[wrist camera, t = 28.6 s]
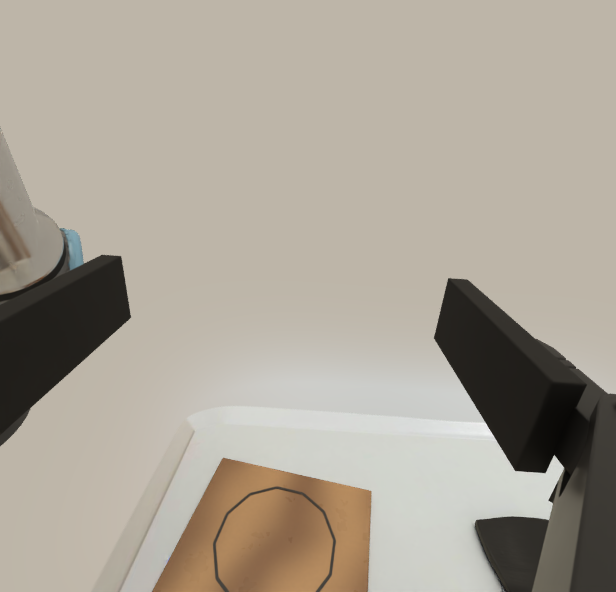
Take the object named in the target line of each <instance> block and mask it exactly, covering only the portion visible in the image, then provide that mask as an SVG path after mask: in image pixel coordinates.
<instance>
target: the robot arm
mask: <svg viewBox="0 0 616 592" xmlns="http://www.w3.org/2000/svg"><path fill="white" fill-rule="evenodd" d="M130 318H131V315H130V309H129V302H128V296H127V290H126V284H125V277H124V271H123V265H122V259H121V256H109V255H101V256H99V257H97V258H95V259H93V260H91V261H89V262H87V263H85V264H84V262H83V255H82V247H81V241H80V237H79V235H78V233H77V232H75V231H74V230H66V229H64V228H59V227H58V226H57V224H56V223H55V222H54V221H53V219H51V218H50V217H49V216H48V215H46V214H45V213H43V212H42V211H40V210H38V209H36V208H34V207H33V206H32V204H31V201H30V199H29V196H28V194H27V191H26V189H25V187H24V184H23V182H22V179H21V177H20V174H19V172H18V170H17V167H16V165H15V162H14V160H13V158H12V155H11V152H10V150H9V148H8V145H7V143H6V140H5V138H4V135H3V133H2V130H1V128H0V435H1V434H2V433H3V432H4V431H5V430H6V429H7V428H9V427H10V426H11V425H12V424H13V423H14V422H15V421H16V420H17V419H19V418H20V417H21V416H22V415H23V414H24V413H25V412H26V411H27V410H29V409H30V408H31V407H32V406H33V405H34V404H35V403H36V402H37V401H39V400H40V399H41V398H42V397H43V396H44V395H45V394H46V393H48V392H49V391H50V390H51V389H52V388H53V387H54V386H55V385H56V384H58V383H59V382H60V381H61V380H62V379H63V378H64V377H65V376H66V375H68V374H69V373H70V372H71V371H72V370H73V369H74V368H75V367H76V366H77V365H79V364H80V363H81V362H82V361H83V360H84V359H85V358H87V357H88V356H89V355H90V354H91V353H92V352H93V351H94V350H95V349H96V348H98V347H99V346H100V345H101V344H102V343H103V342H104V341H105V340H106V339H108V338H109V337H110V336H111V335H112V334H113V333H114V332H115V331H117V330H118V329H119V328H120V327H121V326H122V325H123V324H124V323H126V321H128V320H129V319H130ZM434 339H435V341H436V342H437V344H438V345H439V347H440V349H441V350H442V352H443V354H444V355H445V357H446V358H447V360H448V362H449V363H450V365H451V367H452V368H453V370H454V372H455V373H456V375H457V377H458V378H459V379H460V381H461V383H462V385H463V386H464V388H465V390H466V391H467V393H468V395H469V396H470V398H471V399H472V401H473V402H474V404H475V406H476V408H477V409H478V411H479V412H480V414H481V416H482V417H483V419H484V421H485V422H486V424H487V426H488V427H489V429H490V430H491V432H492V434H493V435H494V437H495V439H496V440H497V442H498V444H499V445H500V447H501V448H502V450H503V452H504V453H505V455H506V457H507V458H508V460H509V461H510V463H511V465H512V466H513V468H514V470H515V471H523V472H538V473H546V471H547V469H548V467H549V464H550V462H551V460H552V458H553V456H554V455H555V456H556V458H557V459H558V460H559V461H560V463H561V464H562V465H563V467H564V470H563V472H562V474H561V476H560V478H559V480H558V482H557V484H556V486H555V488H554V490H553V492H552V494H551V496H550V498H549V500H548V501H550V502H552V503H553V506H552V511H551V515H550V519H549V523H548V527H547V531H546V535H545V540H544V544H543V548H542V552H541V556H540V560H539V565H538V569H537V573H536V577H535V581H534V585H533V589H532V592H616V394H607V393H606V392H605V391H604V390H603V389H602V388H600V387H599V386H598V385H597V384H596V383H594V382H593V381H592V380H591V379H590V378H588V377H587V376H586V375H585V374H584V373H583V372H581V371H580V370H579V369H576V367H575V366H574V365H573V364H572V363H571V362H569V361H568V360H566V358H565V357H564V356H562V355H561V354H560V353H559V352H558V351H556V350H555V349H554V348H552V347H551V346H549V345H547V344H545V343H543V342H541V341H539V340H538V339H535V338H533V337H532V336H531V335H530V334H529V333H528V332H527V331H525V330H524V329H523V328H522V327H521V326H520V325H519V324H518V323H516V322H515V321H514V320H513V319H512V318H511V317H509V316H508V315H507V314H506V313H505V312H504V311H503V310H502V309H500V308H499V307H498V306H497V305H496V304H495V303H493V302H492V301H491V300H490V299H489V298H488V297H487V296H485V295H484V294H483V293H482V292H481V291H480V290H479V289H478V288H476V287H475V286H474V285H473V284H472V283H471V282H470V281H468V280H464V279H451V278H449V279H448V282H447V286H446V290H445V294H444V298H443V303H442V307H441V311H440V315H439V319H438V324H437V328H436V333H435V336H434Z"/></svg>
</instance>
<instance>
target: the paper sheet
mask: <svg viewBox="0 0 616 592" xmlns="http://www.w3.org/2000/svg"><path fill="white" fill-rule="evenodd" d="M370 512H371V491H369V490H364V489H360V488H355V487H351V486H346V485H342V484H337V483H333V482H328V481H324V480H320V479H315V478H311V477H306V476H302V475H297V474H293V473H288V472H284V471H280V470H275V469H271V468H266V467H262V466H257V465H253V464H248V463H244V462H240V461H235V460H231V459H226V458H223V459H222V461H221V463H220V464H219V466H218V468H217V470H216V472H215V474H214V476H213V478H212V480H211V481H210V483H209V485H208V487H207V489H206V491H205V493H204V495H203V497H202V498H201V500H200V502H199V504H198V506H197V508H196V510H195V512H194V514H193V515H192V517H191V519H190V521H189V523H188V525H187V527H186V529H185V531H184V532H183V534H182V536H181V538H180V540H179V542H178V544H177V546H176V548H175V549H174V551H173V553H172V555H171V557H170V559H169V561H168V563H167V565H166V566H165V568H164V570H163V572H162V574H161V576H160V578H159V580H158V582H157V583H156V585H155V587H154V589H153V591H152V592H368V565H369V539H370Z"/></svg>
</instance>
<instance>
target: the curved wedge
mask: <svg viewBox="0 0 616 592" xmlns="http://www.w3.org/2000/svg"><path fill="white" fill-rule="evenodd" d="M548 523H549V520H546V519H539V518H527V517H500V518H491V519H483V520H476V522H475V527H476V529H477V532H478V534H479V537H480V540H481V542H482V545H483V547H484V550H485V552H486V554H487V556H488V558H489V560H490V562H491V564H492V566H493V568H494V570H495V572H496V574H497V575H498V577H499V579H500V580H501V582H502V584H503V586H504V588H505V589H506V591H507V592H532V589H533V585H534V581H535V577H536V573H537V569H538V565H539V560H540V556H541V552H542V548H543V544H544V540H545V535H546V531H547V527H548Z"/></svg>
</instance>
